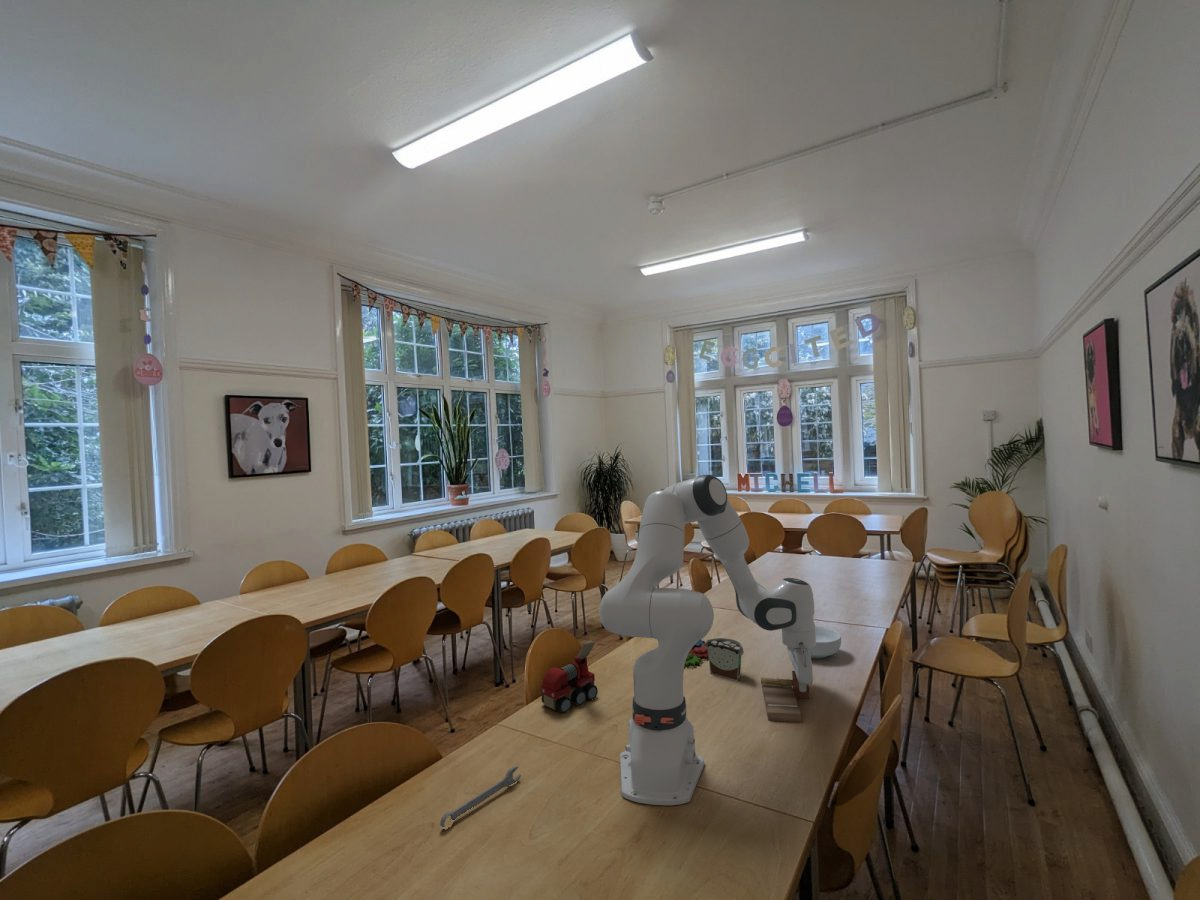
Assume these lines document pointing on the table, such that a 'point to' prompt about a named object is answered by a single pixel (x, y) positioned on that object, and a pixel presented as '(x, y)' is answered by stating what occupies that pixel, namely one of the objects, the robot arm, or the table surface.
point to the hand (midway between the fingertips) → (801, 686)
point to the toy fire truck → (570, 683)
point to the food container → (725, 657)
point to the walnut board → (781, 703)
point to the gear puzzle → (696, 654)
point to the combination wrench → (483, 795)
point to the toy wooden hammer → (788, 683)
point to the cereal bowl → (825, 642)
